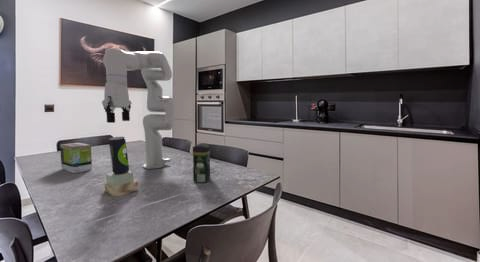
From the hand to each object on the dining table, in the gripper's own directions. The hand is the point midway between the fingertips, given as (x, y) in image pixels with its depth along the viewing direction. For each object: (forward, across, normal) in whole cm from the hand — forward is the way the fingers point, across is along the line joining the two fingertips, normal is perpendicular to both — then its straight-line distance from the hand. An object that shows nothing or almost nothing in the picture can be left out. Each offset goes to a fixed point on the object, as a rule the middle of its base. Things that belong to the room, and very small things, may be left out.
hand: (118, 121), depth 99 cm
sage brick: (+26, +1, 0) cm, 26 cm away
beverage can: (+22, +1, +1) cm, 22 cm away
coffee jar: (+30, -19, +30) cm, 47 cm away
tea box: (+31, -26, -46) cm, 61 cm away
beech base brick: (+30, +1, +1) cm, 30 cm away
